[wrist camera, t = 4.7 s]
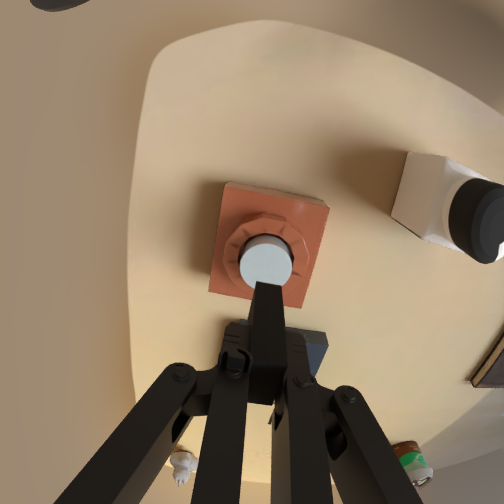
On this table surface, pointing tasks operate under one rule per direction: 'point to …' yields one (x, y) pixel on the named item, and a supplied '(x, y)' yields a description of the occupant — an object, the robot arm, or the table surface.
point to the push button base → (310, 346)
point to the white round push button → (265, 261)
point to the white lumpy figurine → (183, 465)
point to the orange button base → (266, 223)
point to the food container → (413, 463)
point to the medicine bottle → (451, 206)
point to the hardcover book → (491, 369)
